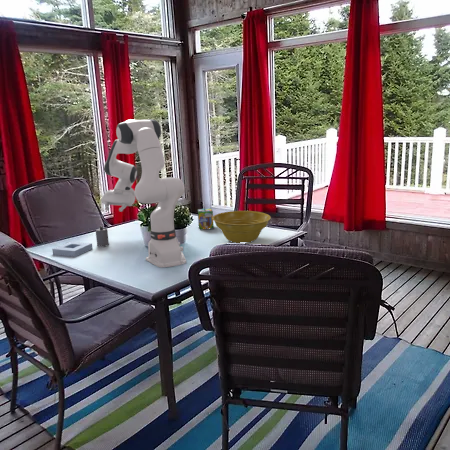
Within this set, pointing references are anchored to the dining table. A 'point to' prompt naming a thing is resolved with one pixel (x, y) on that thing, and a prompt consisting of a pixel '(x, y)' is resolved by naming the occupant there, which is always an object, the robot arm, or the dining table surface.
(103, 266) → the dining table surface
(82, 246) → the socket
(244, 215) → the planter bowl
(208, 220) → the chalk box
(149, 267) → the dining table surface
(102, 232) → the plug
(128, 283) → the dining table surface
